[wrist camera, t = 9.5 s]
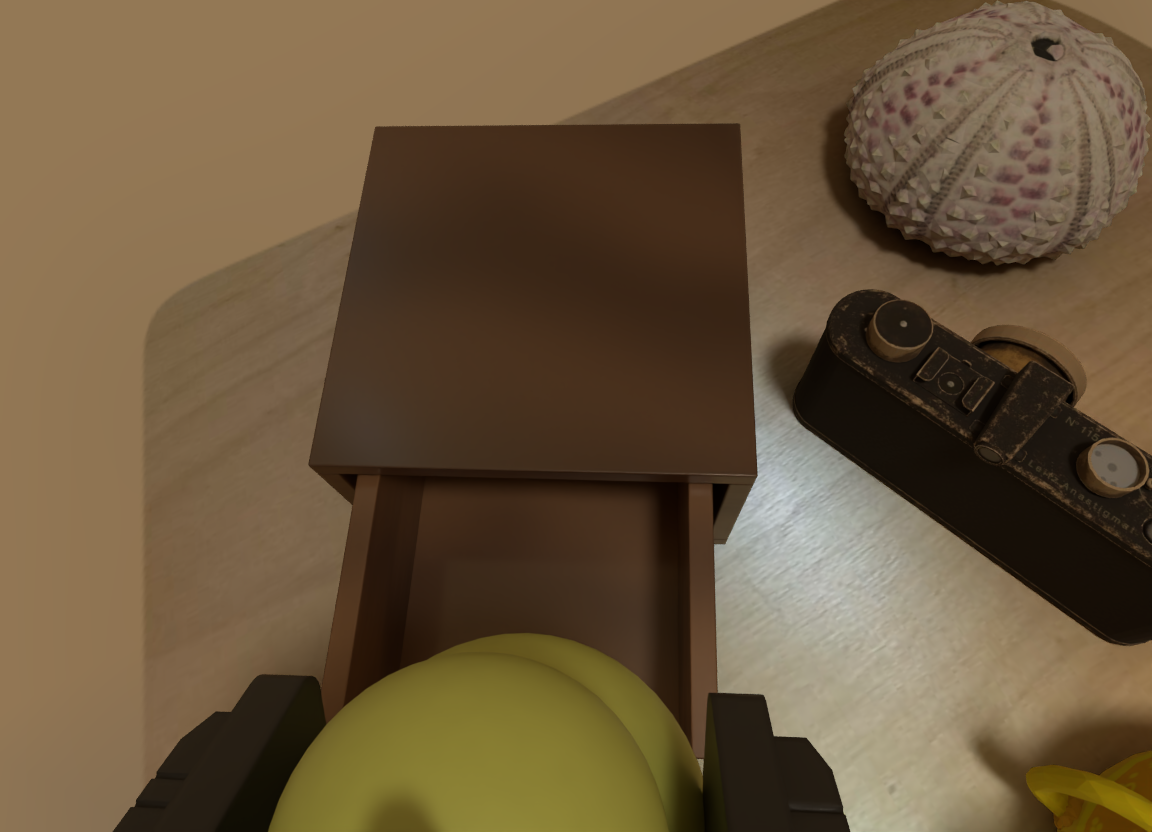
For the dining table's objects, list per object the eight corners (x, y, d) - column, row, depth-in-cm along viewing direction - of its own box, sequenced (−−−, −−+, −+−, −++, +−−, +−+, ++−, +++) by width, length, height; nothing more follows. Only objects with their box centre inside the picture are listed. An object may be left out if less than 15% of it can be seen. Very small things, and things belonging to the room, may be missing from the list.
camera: (1208, 543, 31) (1388, 477, 24) (1129, 673, 29) (1298, 646, 22) (856, 316, 36) (915, 204, 29) (771, 415, 34) (810, 323, 27)
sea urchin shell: (807, 93, 42) (847, -48, 34) (1060, 67, 41) (1153, -81, 34) (863, 302, 36) (924, 187, 29) (1154, 274, 36) (1289, 151, 29)
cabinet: (725, 544, 32) (757, 476, 24) (383, 533, 33) (307, 465, 25) (716, 253, 38) (740, 122, 30) (425, 252, 39) (374, 125, 31)
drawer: (724, 981, 25) (756, 1056, 19) (328, 952, 26) (236, 1014, 20) (711, 473, 32) (731, 407, 26) (400, 465, 33) (348, 400, 27)
